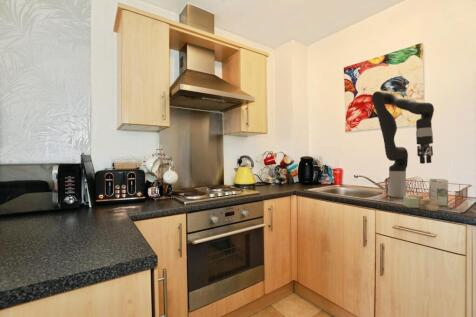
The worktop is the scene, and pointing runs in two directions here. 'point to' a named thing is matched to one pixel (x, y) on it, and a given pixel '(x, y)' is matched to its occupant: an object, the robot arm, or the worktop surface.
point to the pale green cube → (417, 197)
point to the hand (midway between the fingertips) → (425, 163)
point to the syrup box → (439, 191)
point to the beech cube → (429, 204)
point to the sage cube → (411, 202)
